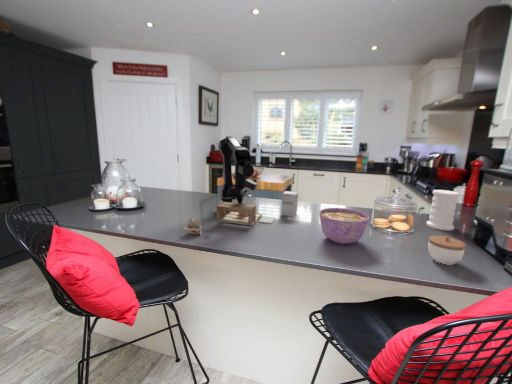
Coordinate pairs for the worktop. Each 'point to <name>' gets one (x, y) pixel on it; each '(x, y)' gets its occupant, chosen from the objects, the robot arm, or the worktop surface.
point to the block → (243, 214)
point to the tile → (267, 220)
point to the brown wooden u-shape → (237, 210)
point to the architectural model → (194, 226)
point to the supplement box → (289, 203)
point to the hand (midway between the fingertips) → (240, 204)
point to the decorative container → (443, 209)
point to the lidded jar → (446, 249)
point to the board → (239, 218)
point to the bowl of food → (343, 224)
